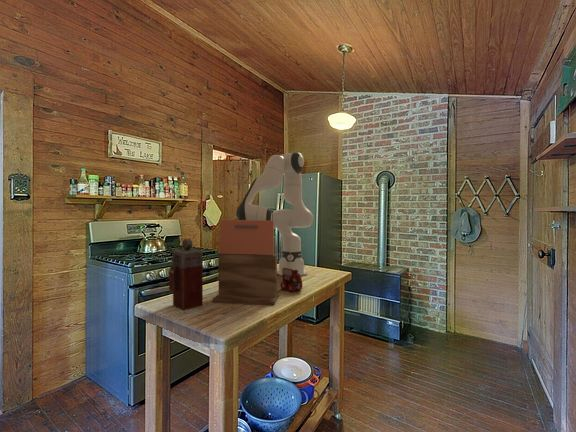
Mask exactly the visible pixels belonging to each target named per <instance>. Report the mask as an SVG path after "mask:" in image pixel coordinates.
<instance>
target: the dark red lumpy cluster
mask: <svg viewBox="0 0 576 432" xmlns="http://www.w3.org/2000/svg"><path fill="white" fill-rule="evenodd" d="M282 273H283V276H282V281H281V282H280V285H279V286H280V289H281V290H282V291H285V290H288V292H290V293H294V292H295V291H296V290H297V291H301V290H302V289H303V279H302V277H301V276H300V274H298V270H293V269H288V268H283V269H282Z"/></svg>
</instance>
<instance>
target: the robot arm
mask: <svg viewBox="0 0 576 432" xmlns="http://www.w3.org/2000/svg"><path fill="white" fill-rule="evenodd" d="M304 167H305V157H304V156H303V154H302V153H300V152H288V153H282V154H273V155H271V156H270V157H269V158H268V160H267V162H266V164H265V166H264V169H263V173H261V175H260V176H258V177H256V178H255V179H253V181H252V183H251V185H250V186H249V187H248V190H247V192H246V194H245V195H244V198H243V199H242V201H241V203H240V204H239V205H238V207H237V208H236V212H235V216H236V219H237V220H268V221H274V228H276V229H277V230H278V232H279V234H280V237H281V242H282V244H281V245H282V246H281V247H282V249H281V250H282V251H281V258H280V259H279V260H278V262H279V263H278V269H277V275H280V276H281V277H283V273H282V269H283V268H288V269H293V270H298V274H300V276H307V275H308V272H307V269H306V268H305V261H304V259H303V258H302V255H303V252H302V249H301V247H302V239H301V237H300V236H299V235H298V234H297V233H294V232H293V231H292V229H295V228H296V229H304V228H310V227H312V225H313V223H314V215H313V213H312V212H311V211H310V210H309V209H308V208H307V207H306V205H305V203H304V201H303V179H302V171H303V169H304ZM283 179H284V180H283ZM283 181H284V182H283ZM282 182H283V200H284V201H285V203H287V204H289V205H291V206H292V208H291V209H289V208H288V209H287V208H285V209H284V208H283V209H276V210H273V211H272V209H271V208H270V207H268V206H262V205H256V204H253V201H254V199H255V197H256V196H257V194H258V193H260V192H263V191H267V190H274V189H276V188H278V187H279V186H280V185H281V183H282Z"/></svg>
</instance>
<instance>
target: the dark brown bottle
mask: <svg viewBox="0 0 576 432" xmlns="http://www.w3.org/2000/svg"><path fill="white" fill-rule="evenodd" d="M192 241H193V240H192V239H191V238H184V239H183V241H182V249H181V248H179V249H174V250H173V251H172V264H170V268H169V271H168V289H169V290H170V291H171V292H172V301H173V302H172V305H174V306H173V307H175V306H177V307H178V309H179V308H180V310H181V309H182V310H181V311H186V309H187V310H190V308H191V309H194V308H198V307H202V306H203V302H204V301H203V299H204V298H203V297H204V296H203V294H204V293H203V288H204V287H203V286H204V285H203V278H204V277H203V251H202V250H201V249H197V248H194V247H193V242H192ZM177 307H176V308H177Z"/></svg>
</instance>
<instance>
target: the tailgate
mask: <svg viewBox="0 0 576 432" xmlns="http://www.w3.org/2000/svg"><path fill="white" fill-rule="evenodd" d="M219 229H220V230H219V231H220V232H219V233H220V234H219V235H220V237H219V238H220V239H219V240H220V241H219V243H220V253H222V254H256V255H274V254H275V226H274V221H268V220H239V219H220V220H219Z"/></svg>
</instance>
